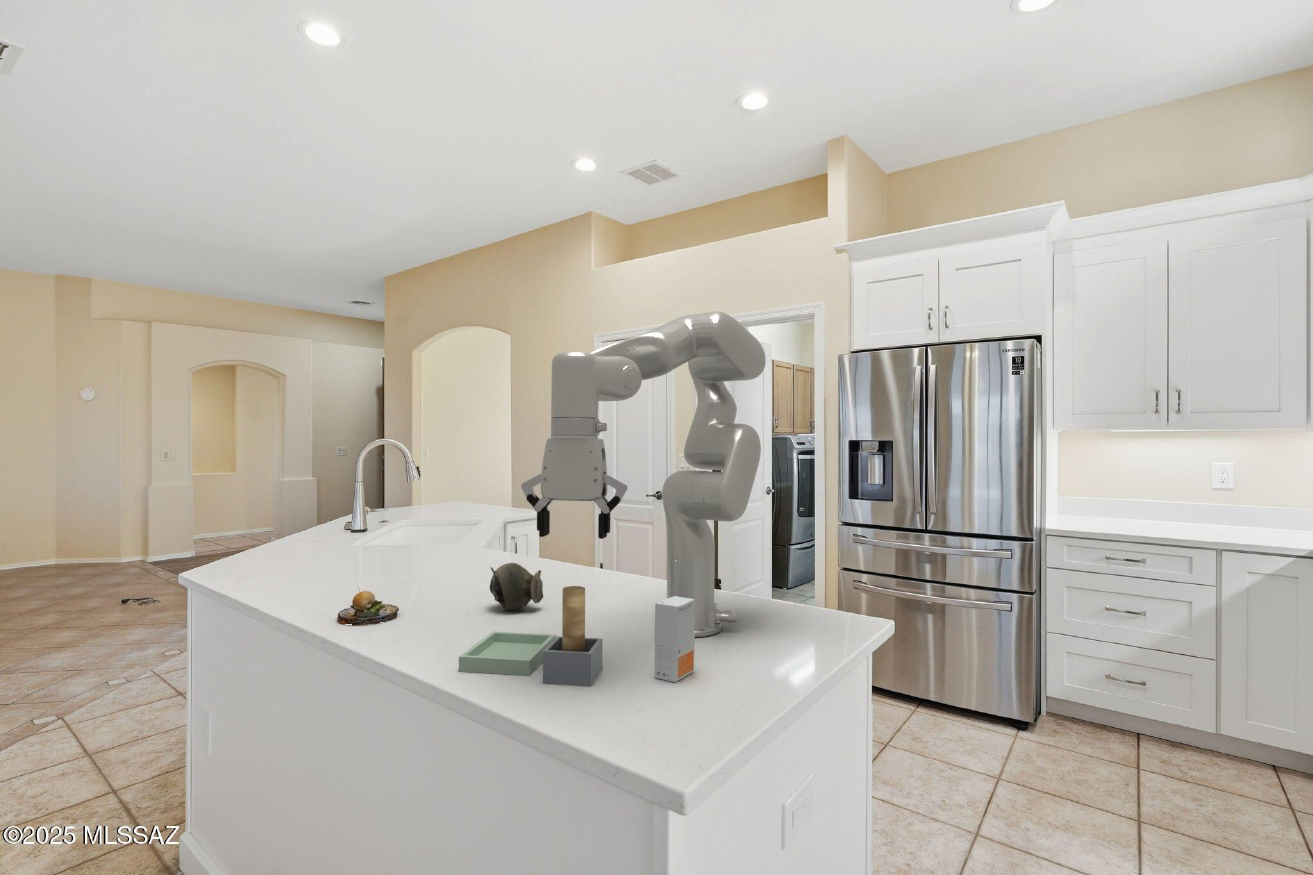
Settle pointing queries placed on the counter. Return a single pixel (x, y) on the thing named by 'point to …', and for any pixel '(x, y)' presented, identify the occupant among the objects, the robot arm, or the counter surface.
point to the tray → (506, 653)
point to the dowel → (573, 619)
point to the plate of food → (367, 611)
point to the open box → (572, 663)
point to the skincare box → (674, 638)
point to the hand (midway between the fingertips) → (573, 536)
